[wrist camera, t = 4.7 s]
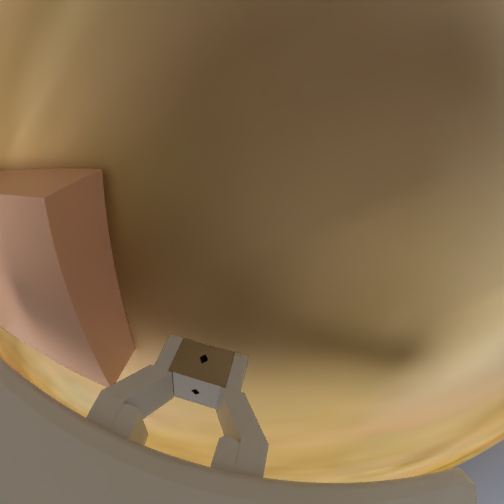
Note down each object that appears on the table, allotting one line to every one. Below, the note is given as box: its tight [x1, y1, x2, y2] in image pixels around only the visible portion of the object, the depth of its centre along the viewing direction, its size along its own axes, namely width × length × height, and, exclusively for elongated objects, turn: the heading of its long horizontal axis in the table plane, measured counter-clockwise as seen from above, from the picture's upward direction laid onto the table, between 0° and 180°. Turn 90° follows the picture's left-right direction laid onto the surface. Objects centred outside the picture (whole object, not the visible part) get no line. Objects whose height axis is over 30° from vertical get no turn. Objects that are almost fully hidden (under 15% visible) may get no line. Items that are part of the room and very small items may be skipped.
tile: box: [0, 168, 135, 387], centre depth 11 cm, size 10×14×4 cm
